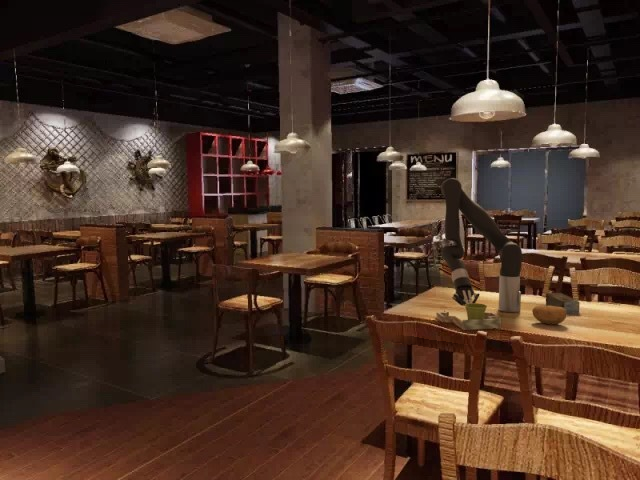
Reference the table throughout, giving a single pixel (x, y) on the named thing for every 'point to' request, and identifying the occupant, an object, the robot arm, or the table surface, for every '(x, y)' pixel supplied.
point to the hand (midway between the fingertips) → (470, 312)
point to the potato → (549, 314)
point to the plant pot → (475, 310)
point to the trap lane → (472, 321)
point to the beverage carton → (562, 302)
